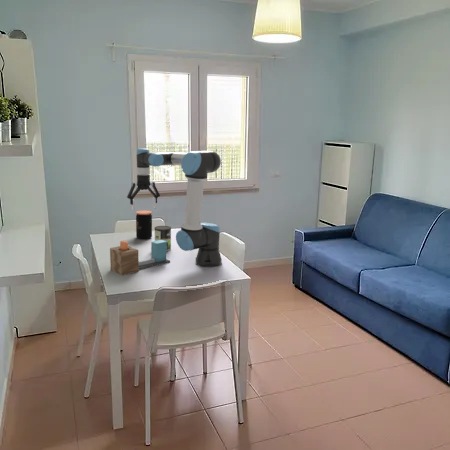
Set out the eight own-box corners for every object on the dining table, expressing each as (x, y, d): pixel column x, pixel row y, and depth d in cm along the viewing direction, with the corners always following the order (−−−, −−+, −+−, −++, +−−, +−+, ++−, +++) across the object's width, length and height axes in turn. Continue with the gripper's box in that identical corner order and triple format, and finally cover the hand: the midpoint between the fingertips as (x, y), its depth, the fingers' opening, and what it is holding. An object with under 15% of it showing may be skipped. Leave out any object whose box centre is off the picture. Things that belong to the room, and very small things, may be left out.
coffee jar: (135, 235, 310) (135, 210, 306) (150, 235, 313) (150, 210, 309) (137, 240, 300) (136, 213, 296) (153, 239, 303) (153, 213, 299)
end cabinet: (139, 271, 240) (139, 249, 237) (122, 275, 233) (121, 253, 230) (127, 265, 249) (127, 244, 246) (110, 269, 242) (110, 248, 239)
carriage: (166, 260, 256) (166, 241, 254) (156, 262, 251) (156, 243, 249) (161, 257, 260) (161, 239, 257) (151, 260, 255) (151, 241, 252)
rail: (170, 262, 256) (170, 257, 256) (137, 270, 242) (137, 264, 241) (162, 258, 262) (162, 254, 261) (129, 266, 247) (129, 261, 246)
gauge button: (129, 252, 238) (129, 242, 237) (122, 254, 236) (122, 243, 234) (125, 251, 241) (125, 240, 240) (118, 252, 238) (118, 241, 237)
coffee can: (173, 247, 285) (173, 226, 282) (167, 252, 275) (168, 230, 272) (157, 246, 287) (157, 225, 284) (152, 250, 277) (152, 228, 274)
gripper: (160, 173, 278) (160, 206, 282) (121, 174, 265) (122, 209, 270) (165, 174, 271) (165, 208, 276) (125, 175, 259) (126, 211, 264)
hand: (143, 209), depth 273 cm, fingers open, 13 cm apart
